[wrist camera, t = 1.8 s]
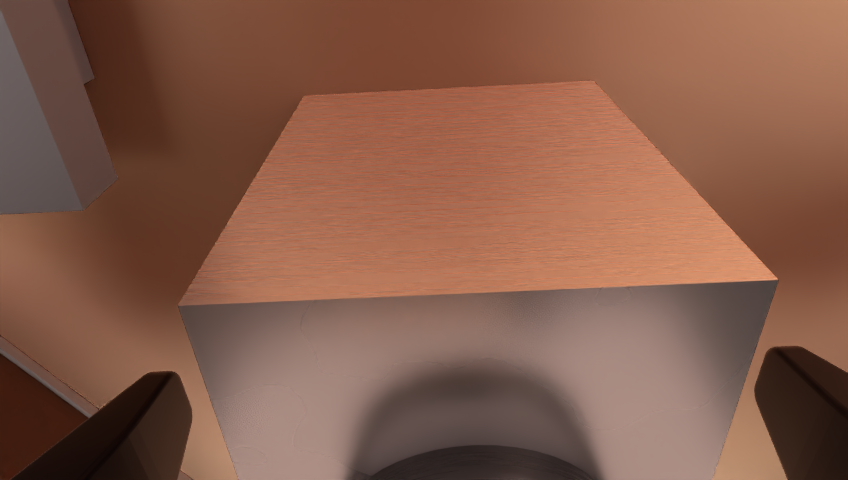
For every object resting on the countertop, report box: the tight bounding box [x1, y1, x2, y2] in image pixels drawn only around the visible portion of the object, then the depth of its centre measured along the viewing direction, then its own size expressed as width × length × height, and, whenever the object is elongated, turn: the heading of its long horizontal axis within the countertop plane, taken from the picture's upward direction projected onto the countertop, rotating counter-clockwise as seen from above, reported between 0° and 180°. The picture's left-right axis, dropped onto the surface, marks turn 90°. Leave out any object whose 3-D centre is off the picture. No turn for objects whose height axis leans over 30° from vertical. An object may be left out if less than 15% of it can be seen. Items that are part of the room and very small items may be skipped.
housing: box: [178, 80, 778, 480], centre depth 9 cm, size 5×7×7 cm
